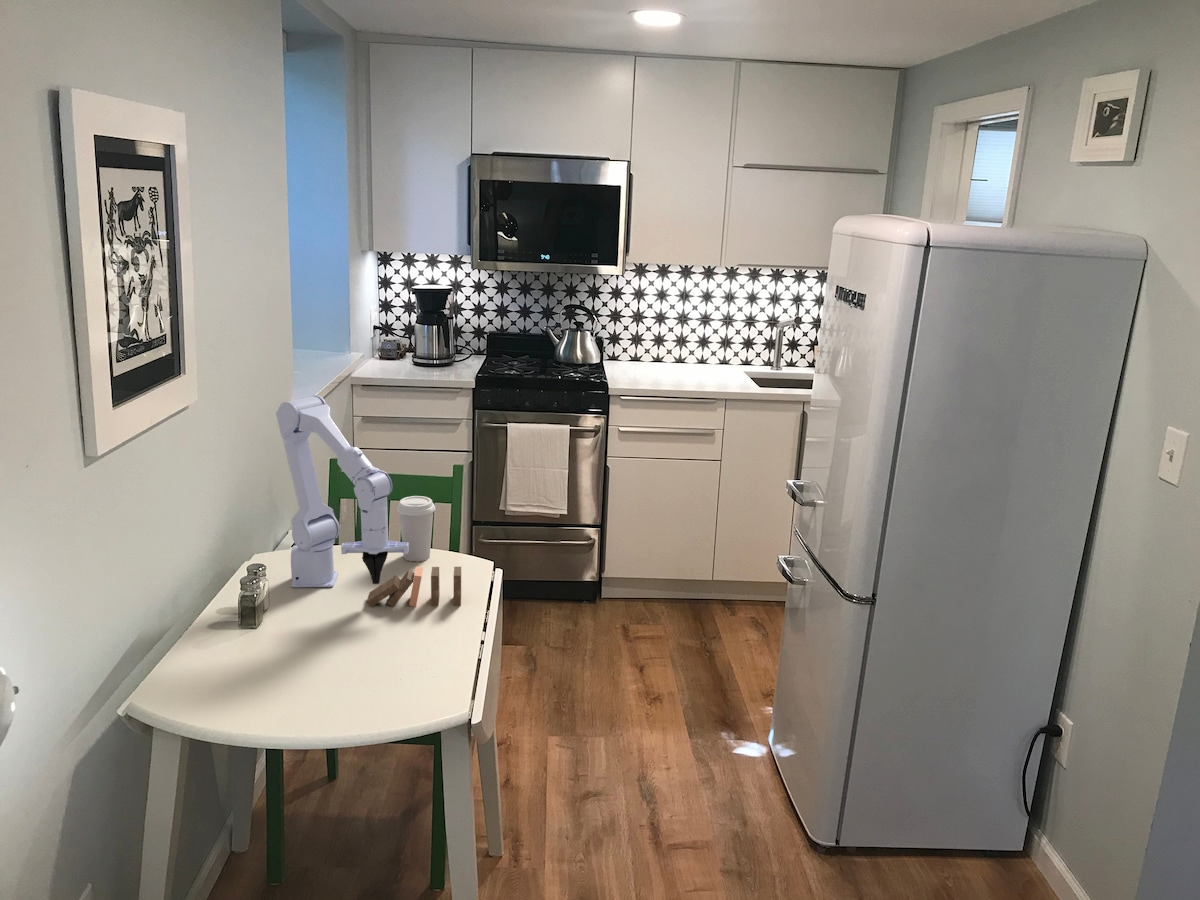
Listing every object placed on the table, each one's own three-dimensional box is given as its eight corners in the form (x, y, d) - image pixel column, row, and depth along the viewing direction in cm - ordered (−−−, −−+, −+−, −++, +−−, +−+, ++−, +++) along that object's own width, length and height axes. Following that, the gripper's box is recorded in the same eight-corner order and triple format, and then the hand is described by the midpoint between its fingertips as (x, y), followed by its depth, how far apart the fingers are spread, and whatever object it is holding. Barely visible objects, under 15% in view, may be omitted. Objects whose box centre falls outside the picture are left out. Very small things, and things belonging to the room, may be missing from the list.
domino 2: (387, 603, 210) (407, 578, 209) (389, 593, 215) (408, 569, 214) (393, 606, 211) (413, 581, 209) (395, 597, 215) (414, 572, 214)
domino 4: (431, 606, 212) (430, 575, 209) (432, 596, 216) (432, 566, 214) (438, 606, 212) (438, 575, 210) (439, 596, 216) (439, 566, 214)
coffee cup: (390, 560, 235) (389, 504, 231) (408, 547, 244) (407, 492, 239) (425, 566, 232) (424, 509, 228) (442, 552, 241) (441, 497, 237)
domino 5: (453, 606, 212) (453, 575, 210) (454, 596, 217) (454, 566, 215) (460, 605, 212) (460, 575, 210) (461, 596, 217) (461, 566, 215)
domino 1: (366, 601, 209) (394, 583, 209) (369, 592, 214) (396, 574, 214) (371, 607, 210) (398, 589, 209) (373, 597, 215) (400, 579, 214)
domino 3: (408, 605, 211) (414, 575, 209) (410, 595, 216) (416, 566, 214) (416, 606, 211) (421, 576, 209) (417, 597, 216) (423, 567, 214)
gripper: (338, 532, 202) (340, 590, 206) (406, 532, 204) (407, 589, 208) (343, 521, 209) (345, 576, 213) (408, 520, 211) (410, 576, 215)
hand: (376, 582), depth 211 cm, fingers closed
